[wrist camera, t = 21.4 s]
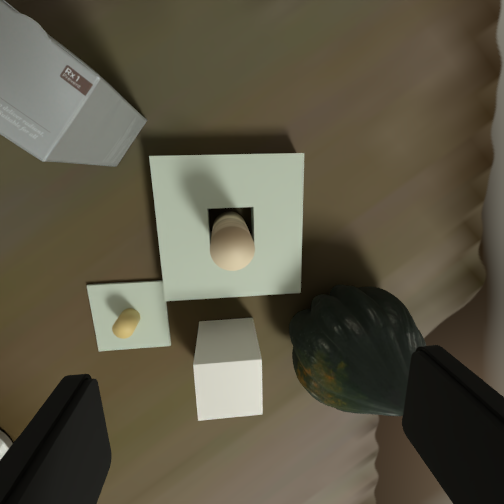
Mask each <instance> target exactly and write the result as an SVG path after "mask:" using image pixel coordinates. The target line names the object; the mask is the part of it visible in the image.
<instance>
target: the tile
mask: <svg viewBox="0 0 504 504" xmlns="http://www.w3.org/2000/svg"><path fill="white" fill-rule="evenodd" d="M87 290H88V295H89V301H90V306H91V312H92V317H93V322H94V328H95V333H96V338H97V344H98V349H99V351H108V350H121V349H135V348H148V347H161V346H171V338H170V329H169V320H168V311H167V302H166V301H165V295H164V286H163V280H157V281H140V282H122V283H104V284H88V285H87Z"/></svg>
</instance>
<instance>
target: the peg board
mask: <svg viewBox="0 0 504 504" xmlns="http://www.w3.org/2000/svg"><path fill="white" fill-rule="evenodd" d="M149 160H150V169H151V178H152V187H153V196H154V205H155V214H156V223H157V232H158V241H159V250H160V259H161V268H162V277H163V286H164V295H165V301H178V300H194V299H210V298H226V297H242V296H258V295H274V294H290V293H301V264H302V222H303V180H304V153H282V154H230V155H178V156H149ZM239 207H251V229H252V239H253V241H254V245H255V253H254V257H253V259H252V260H251V262H250V263H249V264H248V265H247V266H246V267H244V268H242V269H240V270H237V271H228V270H224V269H222V268H220V267H219V266H217V265H216V264H215V263H214V261H213V260H212V258H211V255H210V243H211V238H210V221H209V209H211V208H239Z"/></svg>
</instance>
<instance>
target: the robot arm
mask: <svg viewBox="0 0 504 504" xmlns="http://www.w3.org/2000/svg"><path fill="white" fill-rule="evenodd" d="M402 426H403V430H404V432H405V434H406V436H407V438H408V439H409V440H410V442H411V443H412V445H413V446H414V448H415V449H416V451H417V452H418V453H419V455H420V456H421V458H422V459H423V461H424V462H425V464H426V465H427V466H428V468H429V469H430V471H431V472H432V474H433V475H434V476H435V478H436V479H437V481H438V482H439V484H440V485H441V487H442V488H443V489H444V491H445V492H446V494H447V495H448V497H449V498H450V500H451V501H452V502H453V504H504V397H503V396H502V395H500V394H499V393H498V392H497V391H495V390H494V389H493V388H491V387H490V386H489V385H488V384H486V383H485V382H484V381H483V380H482V379H481V378H479V377H478V376H477V375H476V374H474V373H473V372H472V371H471V370H469V369H468V368H467V367H466V366H464V365H463V364H462V363H461V362H460V361H458V360H457V359H456V358H455V357H453V356H452V355H451V354H450V353H448V352H447V351H446V350H445V349H443V348H442V347H440V346H438V345H433V346H420V347H418V348H417V349H416V351H415V352H413V353H412V356H411V362H410V369H409V376H408V383H407V390H406V397H405V404H404V411H403V418H402ZM110 464H111V448H110V443H109V438H108V433H107V428H106V422H105V417H104V412H103V407H102V402H101V397H100V391H99V386H98V382H97V380H96V379H91V376H90V375H89V374H80V375H68V376H65V377H64V378H63V379H62V380H61V381H60V383H59V384H58V385H57V387H56V388H55V389H54V391H53V392H52V393H51V395H50V396H49V397H48V399H47V400H46V401H45V403H44V404H43V405H42V407H41V408H40V409H39V411H38V412H37V413H36V415H35V416H34V417H33V419H32V420H31V421H30V423H29V424H28V425H27V427H26V428H25V429H24V431H23V432H22V433H21V435H20V436H19V437H18V438H17V439H16V440H15V441H14V443H12V441H11V440H10V439H9V437H8V436H7V435H6V434H5V433H4V432H2V431H1V430H0V504H96V503H97V501H98V498H99V495H100V493H101V490H102V487H103V484H104V482H105V479H106V476H107V474H108V471H109V468H110Z"/></svg>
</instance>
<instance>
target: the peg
mask: <svg viewBox="0 0 504 504" xmlns="http://www.w3.org/2000/svg"><path fill="white" fill-rule="evenodd" d="M254 253H255V245H254V241H253V239H252V237H251V234H250V232H249V230H248V228H247V225H246V223H245V221H244V219H243V218H242V216H241V215H239V214H238V213H236V212H232V211H227V212H223V213H221V214H220V215H218V216H217V217H216V219H215V220H214V223H213V229H212V236H211V243H210V255H211V258H212V260H213V261H214V263H215V264H216V265H217V266H219V267H220V268H222V269H224V270H228V271H237V270H240V269H242V268H244V267H246V266H247V265H248V264H249V263H250V262H251V260H252V259H253V257H254Z"/></svg>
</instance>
